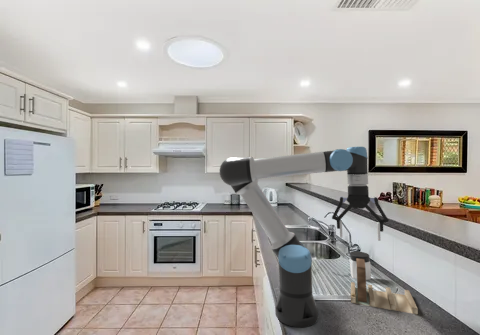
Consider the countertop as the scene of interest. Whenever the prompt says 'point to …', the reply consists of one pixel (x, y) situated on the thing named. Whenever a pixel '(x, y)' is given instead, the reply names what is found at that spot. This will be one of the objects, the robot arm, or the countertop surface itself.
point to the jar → (353, 262)
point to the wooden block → (361, 280)
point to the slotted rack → (386, 299)
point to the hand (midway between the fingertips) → (359, 238)
